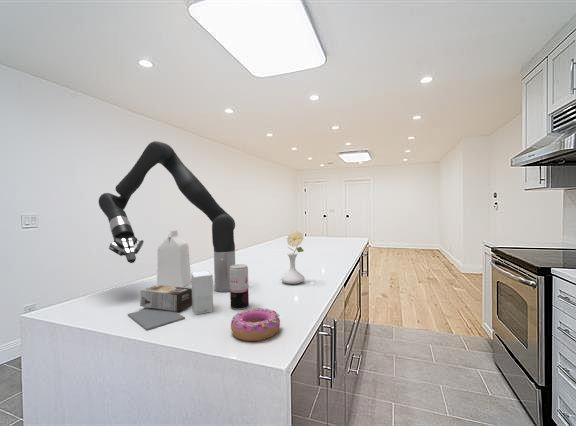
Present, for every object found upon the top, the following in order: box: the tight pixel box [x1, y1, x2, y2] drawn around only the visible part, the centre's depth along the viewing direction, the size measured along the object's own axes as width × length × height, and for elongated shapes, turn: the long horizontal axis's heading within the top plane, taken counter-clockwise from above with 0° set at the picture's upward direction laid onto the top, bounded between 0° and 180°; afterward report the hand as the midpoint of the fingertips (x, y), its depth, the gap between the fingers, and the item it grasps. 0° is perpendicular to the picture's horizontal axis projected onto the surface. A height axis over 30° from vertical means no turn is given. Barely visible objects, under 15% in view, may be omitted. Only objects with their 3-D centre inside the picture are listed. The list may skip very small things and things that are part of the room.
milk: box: [156, 229, 192, 288], centre depth 135 cm, size 12×12×26 cm
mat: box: [127, 307, 186, 331], centre depth 95 cm, size 18×12×1 cm, turn 46°
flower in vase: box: [280, 230, 306, 285], centre depth 135 cm, size 13×11×25 cm
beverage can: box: [229, 263, 250, 311], centre depth 103 cm, size 7×6×15 cm
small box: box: [190, 270, 214, 315], centre depth 101 cm, size 8×6×13 cm
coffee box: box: [139, 284, 192, 313], centre depth 105 cm, size 9×6×16 cm
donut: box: [230, 307, 281, 342], centre depth 83 cm, size 14×14×5 cm
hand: (132, 261), depth 111 cm, fingers closed
